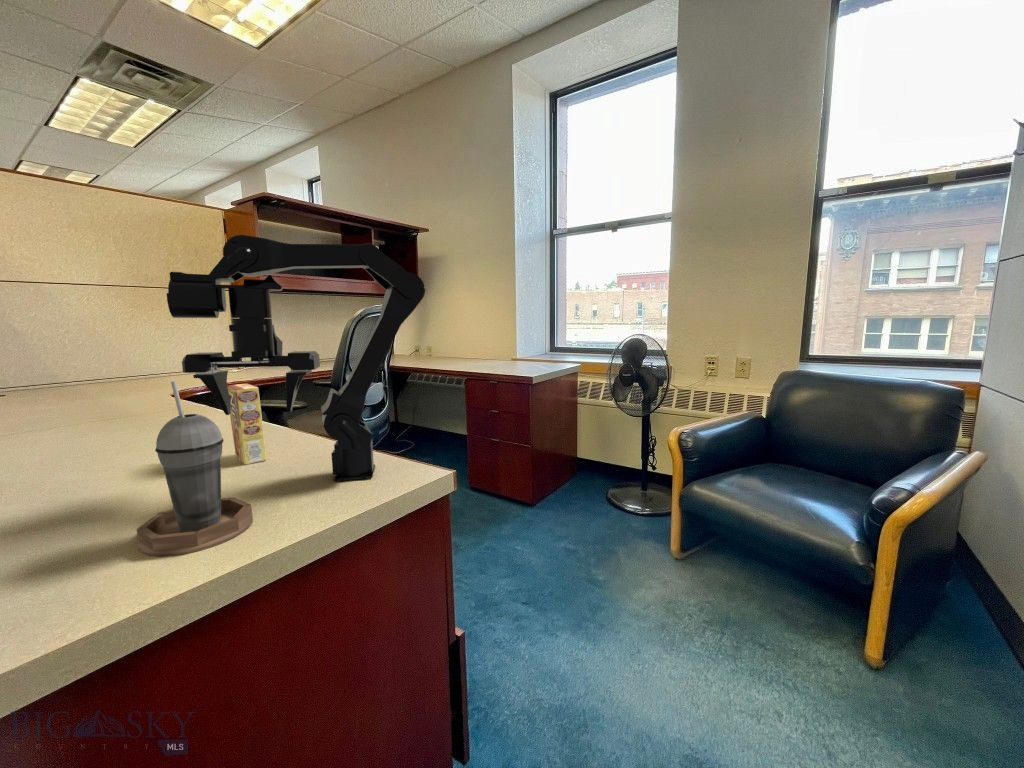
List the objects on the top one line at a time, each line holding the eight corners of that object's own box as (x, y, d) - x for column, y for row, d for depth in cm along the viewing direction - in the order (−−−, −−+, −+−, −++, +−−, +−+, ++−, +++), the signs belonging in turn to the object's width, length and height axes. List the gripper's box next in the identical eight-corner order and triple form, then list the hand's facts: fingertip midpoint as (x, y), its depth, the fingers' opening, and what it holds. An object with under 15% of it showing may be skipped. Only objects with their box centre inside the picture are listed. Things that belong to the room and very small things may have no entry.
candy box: (267, 460, 89) (260, 386, 87) (244, 465, 86) (235, 389, 84) (255, 451, 95) (248, 382, 93) (233, 456, 92) (225, 385, 90)
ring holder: (265, 507, 66) (264, 493, 66) (231, 548, 54) (230, 532, 54) (171, 516, 64) (169, 501, 63) (113, 562, 52) (111, 544, 51)
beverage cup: (212, 539, 55) (194, 384, 53) (152, 541, 55) (130, 385, 52) (243, 514, 63) (228, 376, 60) (190, 516, 62) (172, 378, 59)
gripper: (322, 319, 80) (327, 402, 82) (207, 318, 76) (215, 406, 78) (310, 318, 69) (316, 414, 72) (175, 318, 65) (186, 420, 67)
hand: (259, 413), depth 72 cm, fingers open, 9 cm apart
